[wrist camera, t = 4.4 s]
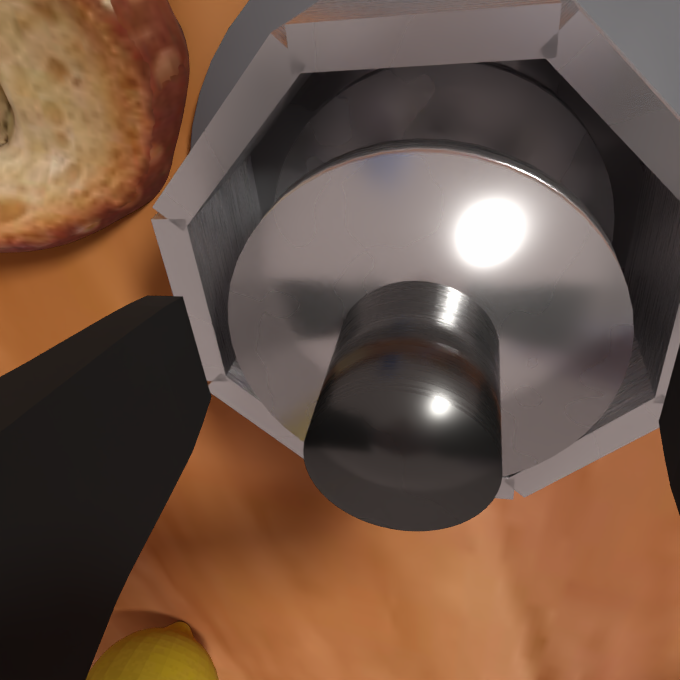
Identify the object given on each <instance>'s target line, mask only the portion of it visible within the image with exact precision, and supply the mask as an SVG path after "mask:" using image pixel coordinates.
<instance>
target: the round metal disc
mask: <svg viewBox="0 0 680 680" xmlns="http://www.w3.org/2000/svg"><path fill="white" fill-rule="evenodd" d="M317 1H319V0H249V1H248V3H247V4H246V6H245V7H244V8H243V10H242V11H241V12H240V14H239V15H238V16H237V18H236V19H235V21H234V22H233V23H232V25H231V26H230V27H229V29H228V31H227V33H226V34H225V36H224V38H223V40H222V42H221V44H220V46H219V48H218V49H217V51H216V53H215V55H214V57H213V59H212V61H211V63H210V66H209V69H208V72H207V74H206V77H205V80H204V83H203V85H202V88H201V91H200V94H199V98H198V103H197V107H196V112H195V117H194V121H193V126H192V138H191V150H192V148H193V147H194V145H195V144H196V142H197V141H198V139H199V138H200V136H201V135H202V133H203V132H204V130H205V129H206V127H207V126H208V125H209V123H210V122H211V120H212V119H213V117H214V116H215V114H216V113H217V111H218V110H219V108H220V107H221V105H222V104H223V102H224V101H225V99H226V98H227V96H228V95H229V94H230V92H231V91H232V89H233V88H234V86H235V85H236V83H237V82H238V80H239V79H240V77H241V76H242V74H243V73H244V71H245V70H246V68H247V67H248V65H249V64H250V62H251V61H252V60H253V58H254V57H255V55H256V54H257V52H258V51H259V49H260V48H261V46H262V45H263V43H264V42H265V40H266V39H267V37H268V36H269V34H270V33H271V32H273V31H274V30H276V29H277V28H279V27H280V26H282V25H283V24H285V23H286V22H288V21H289V20H290V19H292V18H293V17H295V16H296V15H298V14H299V13H301V12H302V11H304V10H305V9H307V8H308V7H310V6H311V5H313V4H314V3H316V2H317ZM577 1H578V3H579V4H580V5H581V6H582V7H583V8H584V9H585V10H586V12H587V13H588V14H589V15H590V16H591V17H592V18H593V19H594V21H595V22H596V23H597V24H598V25H599V26H600V27H601V28H602V29H603V31H604V32H605V33H606V34H607V35H608V36H609V37H610V38H611V40H612V41H613V42H614V43H615V44H616V45H617V46H618V47H619V49H620V50H621V51H622V52H623V53H624V54H625V55H626V56H627V57H628V59H629V60H630V61H631V62H632V63H633V64H634V65H635V66H636V68H637V69H638V70H639V71H640V72H641V73H642V74H643V75H644V77H645V78H646V79H647V80H648V81H649V82H650V83H651V84H652V85H653V87H654V88H655V89H656V90H657V91H658V92H659V93H660V94H661V96H662V97H663V98H664V99H665V100H666V101H667V102H668V103H669V105H670V106H671V107H672V108H673V109H674V110H675V111H676V112H677V113H678V115H679V116H680V0H577ZM191 150H190V151H191Z"/></svg>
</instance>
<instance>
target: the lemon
mask: <svg viewBox="0 0 680 680" xmlns="http://www.w3.org/2000/svg"><path fill="white" fill-rule="evenodd" d="M86 680H219V679H218V675H217V672H216V669H215V666H214V664H213V662H212V660H211V658H210V656H209V654H208V653H207V651H206V650H205V649H204V648H203V646H202V645H201V644H200V643H198V642H197V641H196V640H195V639H194V637H193V634H192V632H191V629H190V627H189V625H187V624H186V623H184V622H176V623H174V624H171V625H169V626H167V627H165V628H149V629H144V630H140V631H137V632H135V633H132V634H130V635H128V636H126V637H125V638H123V639H121V640H119V641H118V642H116V643H115V644H114V645H112V646H111V647H110V648H109V649H108V650H107V651H106V652H105V653H104V654H103V655H102V656H101V657H100V658H99V659H98V660H97V662H96V663H95V664H94V666H93V667H92V668H91V670H90V671H89V672H88V675H87V678H86Z"/></svg>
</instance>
